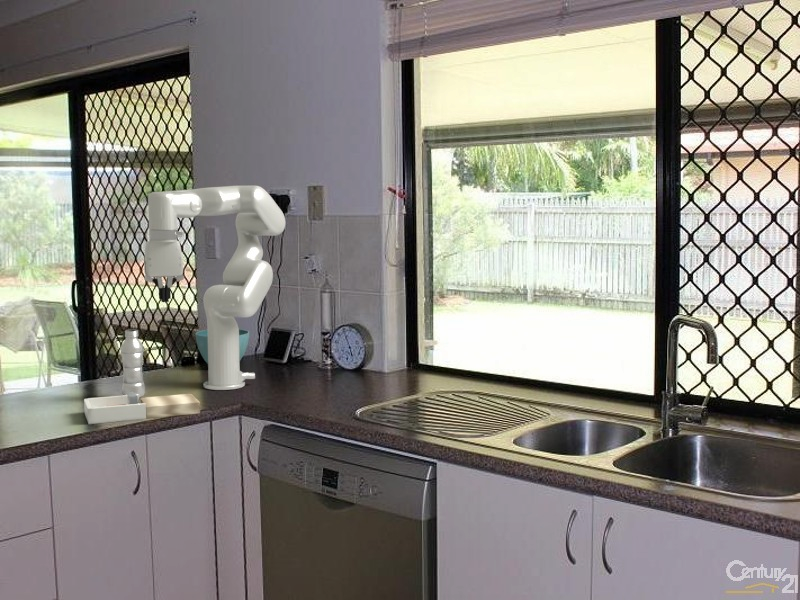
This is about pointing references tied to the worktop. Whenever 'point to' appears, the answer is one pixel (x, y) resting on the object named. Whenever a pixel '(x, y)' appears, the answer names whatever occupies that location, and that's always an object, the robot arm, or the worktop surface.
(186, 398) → the plate
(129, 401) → the slate tile
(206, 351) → the teal bowl
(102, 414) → the box
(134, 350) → the plastic bottle
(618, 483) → the worktop surface
